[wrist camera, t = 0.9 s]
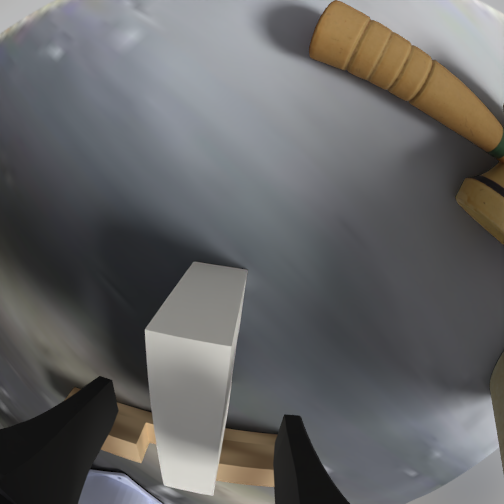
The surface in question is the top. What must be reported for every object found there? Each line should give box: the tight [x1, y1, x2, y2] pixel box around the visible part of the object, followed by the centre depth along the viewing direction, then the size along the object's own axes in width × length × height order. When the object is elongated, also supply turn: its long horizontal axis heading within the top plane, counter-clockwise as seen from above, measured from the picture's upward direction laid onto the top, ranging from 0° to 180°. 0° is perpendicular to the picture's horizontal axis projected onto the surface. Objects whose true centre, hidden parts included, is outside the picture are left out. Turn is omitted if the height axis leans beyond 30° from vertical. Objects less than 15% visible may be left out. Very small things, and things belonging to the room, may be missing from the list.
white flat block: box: [145, 262, 248, 496], centre depth 12 cm, size 2×10×6 cm, turn 172°
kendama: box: [309, 0, 504, 245], centre depth 9 cm, size 8×6×18 cm
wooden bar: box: [64, 387, 277, 487], centre depth 16 cm, size 16×2×3 cm, turn 82°
